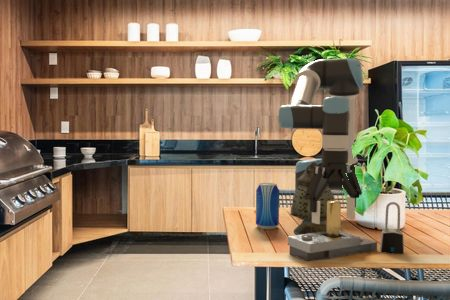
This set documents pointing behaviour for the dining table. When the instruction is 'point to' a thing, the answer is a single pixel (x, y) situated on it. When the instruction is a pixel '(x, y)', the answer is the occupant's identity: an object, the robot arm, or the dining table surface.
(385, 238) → the padlock
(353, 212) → the robot arm
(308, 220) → the lantern
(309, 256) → the grey device box
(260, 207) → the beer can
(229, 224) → the dining table surface
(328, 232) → the brass pin
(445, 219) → the dining table surface
